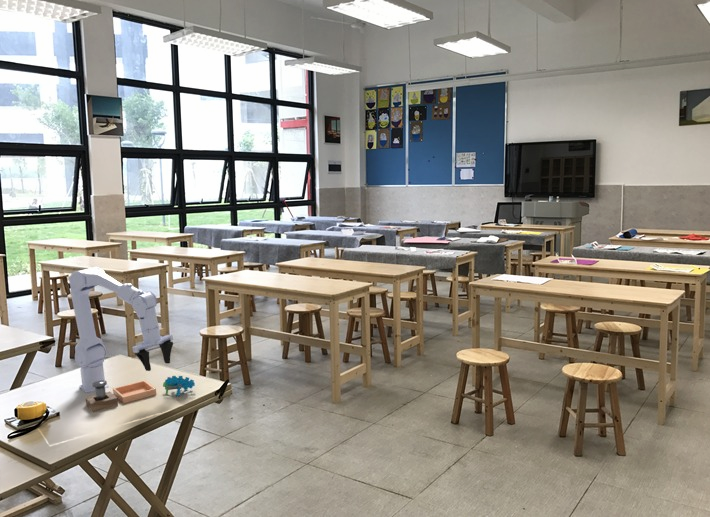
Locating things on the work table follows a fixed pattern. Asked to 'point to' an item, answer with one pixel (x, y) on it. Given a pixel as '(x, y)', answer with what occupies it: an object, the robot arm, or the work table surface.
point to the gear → (177, 384)
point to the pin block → (101, 402)
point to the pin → (100, 389)
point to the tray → (134, 391)
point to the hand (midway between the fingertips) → (158, 366)
